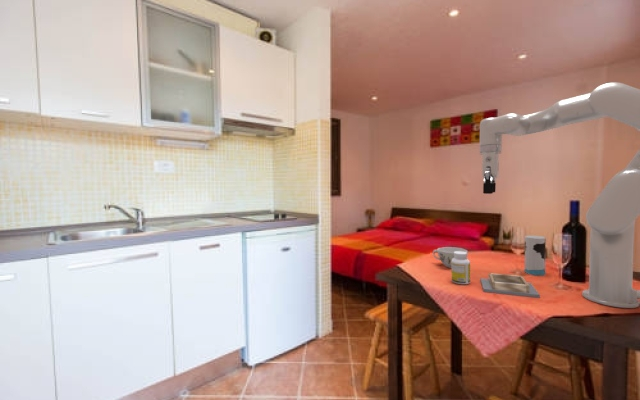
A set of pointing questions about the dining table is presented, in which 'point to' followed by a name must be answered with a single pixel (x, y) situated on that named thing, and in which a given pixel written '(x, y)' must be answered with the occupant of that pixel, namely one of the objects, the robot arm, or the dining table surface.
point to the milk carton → (535, 255)
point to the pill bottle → (460, 268)
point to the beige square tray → (508, 286)
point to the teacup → (447, 254)
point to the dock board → (488, 288)
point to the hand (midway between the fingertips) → (489, 192)
